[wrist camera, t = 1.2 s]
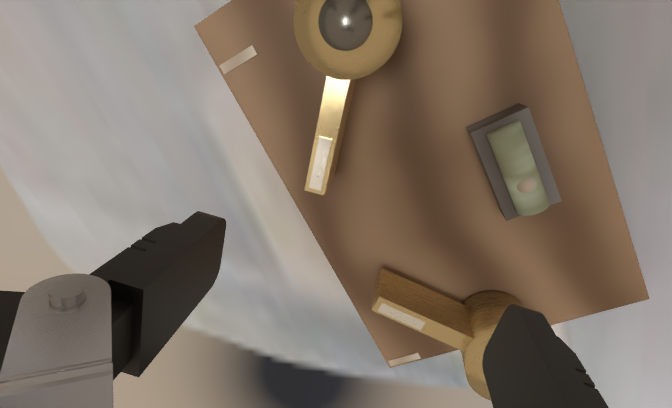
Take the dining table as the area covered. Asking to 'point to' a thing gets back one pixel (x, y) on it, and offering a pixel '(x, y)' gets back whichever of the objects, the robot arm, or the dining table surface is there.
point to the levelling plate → (445, 159)
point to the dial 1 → (342, 65)
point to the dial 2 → (444, 318)
